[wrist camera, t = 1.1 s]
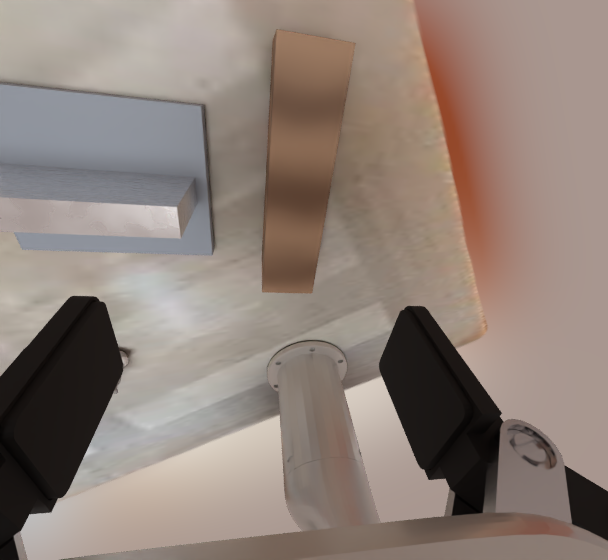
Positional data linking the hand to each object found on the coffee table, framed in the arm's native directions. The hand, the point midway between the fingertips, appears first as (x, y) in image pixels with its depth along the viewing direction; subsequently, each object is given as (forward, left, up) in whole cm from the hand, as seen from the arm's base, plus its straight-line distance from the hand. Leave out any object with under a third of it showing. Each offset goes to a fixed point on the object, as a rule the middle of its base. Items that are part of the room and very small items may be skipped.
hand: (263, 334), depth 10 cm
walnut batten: (-1, -3, -23) cm, 24 cm away
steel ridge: (-3, +14, -22) cm, 26 cm away
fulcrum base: (-3, +14, -23) cm, 27 cm away
